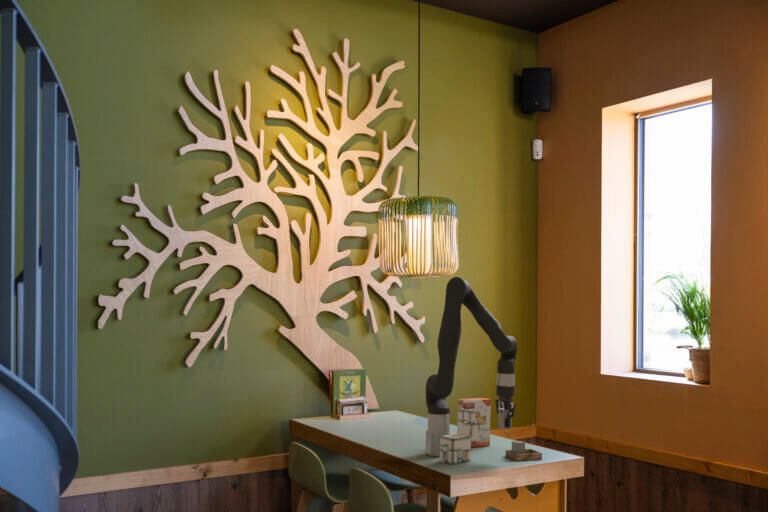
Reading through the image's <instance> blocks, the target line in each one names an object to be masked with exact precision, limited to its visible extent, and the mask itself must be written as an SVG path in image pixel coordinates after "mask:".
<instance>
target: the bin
mask: <svg viewBox="0 0 768 512" xmlns="http://www.w3.org/2000/svg"><path fill="white" fill-rule="evenodd" d="M504 456H505V457H506V458H509V459H511V460H513V461H515V462H521V461H534V460H535V461H537V460H543V453H542V452H540V451H537V450H535V449H533V448H525V454H514V453H512V449H506V450H505V455H504Z"/></svg>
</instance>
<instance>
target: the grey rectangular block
mask: <svg viewBox="0 0 768 512" xmlns="http://www.w3.org/2000/svg"><path fill="white" fill-rule="evenodd" d="M525 449H526V442H524V441H522V440H514V441H511V450H512V453H514V454H525Z"/></svg>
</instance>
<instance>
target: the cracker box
mask: <svg viewBox="0 0 768 512" xmlns="http://www.w3.org/2000/svg"><path fill="white" fill-rule="evenodd" d="M491 403H492V399H490V398H486V397H477V398H476V397H475V398H471V397H470V398H457V410H458V409H467V411H469V410H473V411H475V422H478V423H480V441H479V442H472V443H471V448H481V447H490V446H491V445H490V444H491ZM456 426H457V428H456V434H458V419H457V424H456Z"/></svg>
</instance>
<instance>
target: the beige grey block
mask: <svg viewBox="0 0 768 512" xmlns="http://www.w3.org/2000/svg"><path fill="white" fill-rule="evenodd" d="M512 418H513V417H511V418H510V428H506V427H505V413H498V414H497V428H498V429H501V430H512V428H513V427H512V426H513V419H512Z"/></svg>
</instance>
